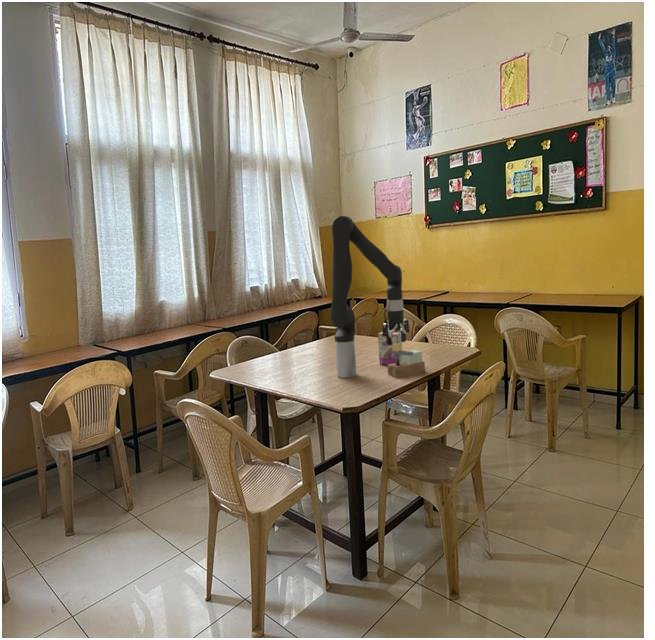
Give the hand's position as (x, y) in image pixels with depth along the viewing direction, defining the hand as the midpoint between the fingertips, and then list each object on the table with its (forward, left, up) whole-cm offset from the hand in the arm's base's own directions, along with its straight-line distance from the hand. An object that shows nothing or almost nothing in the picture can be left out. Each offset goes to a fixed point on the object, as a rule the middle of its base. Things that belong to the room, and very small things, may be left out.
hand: (396, 343), depth 235 cm
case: (0, +5, -15) cm, 16 cm away
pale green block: (0, +8, -10) cm, 13 cm away
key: (+2, +1, -10) cm, 10 cm away
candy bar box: (-19, +8, -15) cm, 25 cm away
